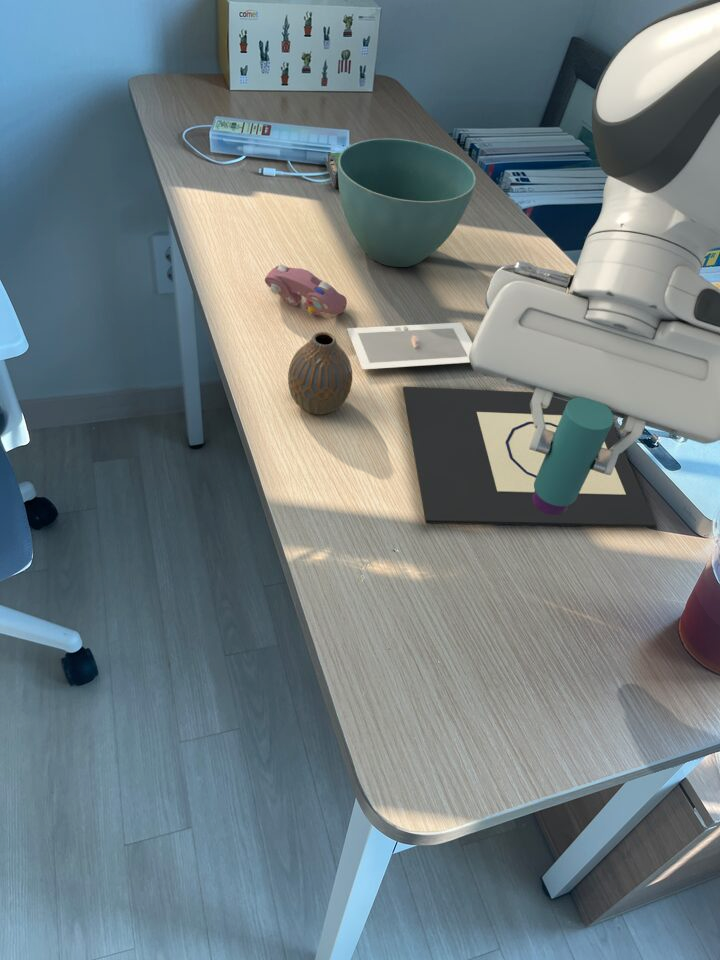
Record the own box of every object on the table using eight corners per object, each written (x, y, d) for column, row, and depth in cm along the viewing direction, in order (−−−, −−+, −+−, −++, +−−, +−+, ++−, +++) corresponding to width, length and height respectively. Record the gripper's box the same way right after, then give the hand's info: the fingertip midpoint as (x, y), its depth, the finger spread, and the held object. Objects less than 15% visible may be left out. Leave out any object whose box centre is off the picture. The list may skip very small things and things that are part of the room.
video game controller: (268, 306, 98) (255, 274, 91) (285, 278, 99) (274, 245, 92) (334, 334, 95) (326, 304, 89) (351, 305, 97) (344, 273, 90)
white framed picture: (480, 368, 92) (484, 354, 90) (361, 376, 88) (363, 362, 86) (459, 329, 97) (462, 315, 95) (345, 335, 93) (347, 321, 91)
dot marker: (564, 486, 65) (606, 397, 57) (576, 518, 62) (620, 430, 55) (524, 485, 64) (560, 395, 57) (534, 518, 62) (573, 428, 54)
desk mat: (599, 397, 91) (600, 394, 90) (654, 527, 77) (657, 524, 77) (402, 388, 87) (403, 385, 87) (425, 522, 74) (426, 519, 74)
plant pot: (304, 235, 108) (311, 150, 99) (402, 209, 117) (415, 128, 108) (383, 301, 99) (397, 214, 90) (481, 267, 108) (504, 185, 99)
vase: (277, 412, 82) (280, 348, 76) (299, 375, 87) (304, 311, 80) (337, 431, 81) (345, 367, 75) (356, 392, 86) (365, 329, 80)
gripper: (500, 241, 57) (440, 416, 57) (777, 321, 54) (711, 505, 54) (498, 266, 63) (444, 424, 63) (747, 338, 60) (687, 503, 60)
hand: (569, 462), depth 59 cm, fingers closed on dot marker, 3 cm apart
